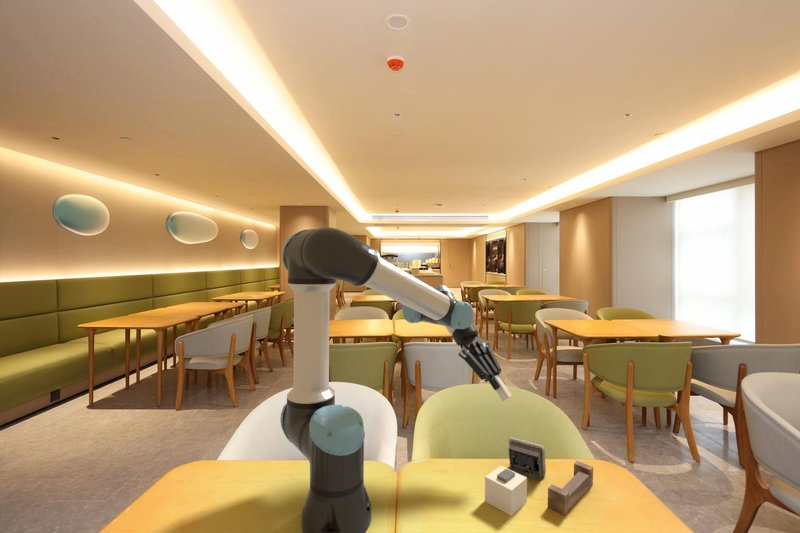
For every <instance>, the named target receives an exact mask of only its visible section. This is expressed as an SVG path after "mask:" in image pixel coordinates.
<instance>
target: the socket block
mask: <svg viewBox="0 0 800 533" xmlns="http://www.w3.org/2000/svg"><path fill="white" fill-rule="evenodd" d="M527 500H528V477H526V476H523V475H520V474H518V473H516V472H514V471H512V469H511V470H510V469H509V468H507V467H505V466H504V465H499V466H498V467H497V468H495V469H494V470H493V471H491V472H490V473H488V474H487V475H485V476H484V502H485V503H487V504H488V505H489V504H490V505H491V506H493V507H495V508H497V509H498V510H500V511H502V512H503V513H505V514H506V515H509V516H510V517H512V516H513V515H515V513H517V512H518V511H519V510H520V509H521V508H522V507H523V506H524V505H525V504H527V502H528V501H527Z"/></svg>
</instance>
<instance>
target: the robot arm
mask: <svg viewBox="0 0 800 533" xmlns="http://www.w3.org/2000/svg"><path fill="white" fill-rule="evenodd" d="M281 260H282V264H283V266H284V268H285V269H286V270H287V286H289V287H290V289H292V290H293V383H292V384H293V387H292V388H291V389H290V390H289V392H288V393H287V395H286V404H285V405H283V407H282V410H281V411H280V412H281V413H280V426H281V430H282V431H283V434H284V436H285V438H287V440H288V441H289V442H290V443H292V444H293V445H294V447H295V448H296V449H298V451H299V452H300V453H301V454H302V455H303V456H305V458H306V459H307V460H308V461H309V490H308V494H307V496H306V500H305V504H304V507H302V508H303V509H302V511H301V530H302V533H366V532H367V531H368V529H369V528H370V525H371V523H372V505H371V501H370V498H369V495H368V492H367V489H366V486H365V483H364V480H365V476H364V475H365V474H364V470H365V467H364V466H365V464H364V461H365V458H364V457H365V437H366V436H365V435H366V433H365V426H364V419H363V417H362V415H361V414H360V413H359V412H358V411H357V410H356V409H354V408H352V407H350V406H343V405H341V404H335V403H336V400H335V398H336V397H335V395H336V393H335V390H334V389H333V387H331V385H330V384H329V382H330V381H329V380H330V378H329V377H330V308H331V307H330V300H331V299H330V298H331V296H330V294H331V290H332V289H333V288H334V287H335V286H336V285H337V281H342V282H346V283H348V284H350V285H352V286H355V287H363V286H365V287H367V288H369V289H371V290H374V292H378V293H379V294H382V295H383V296H385V297H388V298H390V299H391V300H393V301H396V302H398V303H399V304H401V306H402V307H401V309H402V311H401V312H402V316H403V319H404V320H405V321H406V322H408V323H409V324H418V323H421V322H424V323H428V324H433V325H439V326H443V327H445V328H446V330H447V332H448V333H449V334H450V335H451V338H452V340H454V343H455V344H456V345H457V346H459V347H460V349H461V351H460V352H459V353H458V356H459V357H460V359H463V360H464V362H466V364H467V365H468V366H469V367H470V368H471V370H472V371H473V372H474V373H475V374H476V375H477V376H478V378H479V379H480V380H482V381H484V382H485V383H487V382H489V384H490V385H491V387H492V389H493V390H494V391H495V392H496V394H497V395H498V397H499V398H500V400H501V401H502V402H504V401H507V400H508V399H509V398H511V397H512V393H511V392H510V390H509V389H508V388H507V386H506V384H505V381H503V379H502V377H501V375H500V374H501V372H502V369H501V366H500V364H499V362H498V360H497V358H496V356H495V354H494V352H493V350H492V347H491V343H490V342H486V343H485V342H483V340H482V339H480V337H479V335H478V334H479V330H477V328H476V327H475V325H474V323H473V320H474V316H475V314H474V313H475V312H474V309H473V306H472V305H471V304H470V303H469V302H467V301H462V300H457V299H456V297H455V296H454V294H453V293H452V291H450V289H449V288H448V287H447V285H444V284H440V285H437V286H435V287H433V286H431V285H429V284H427V283H425V282H424V281H422V280H421V279H419V278H417V277H416V276H414V275H412V274H410V273H409V272H406V271H405V270H403V269H401V268H400V267H398V266H397V265H394V264H392V263H391V262H389V261H387V260H385V259H384V258H382V257H381V256H380V253H379V251H378V250H377V249H376V248H374V247H373V246H371V245H369V244H367V243H365V242H364V241H362V240H360V239H359V238H357V237H355V236H353V235H351V234H349V233H348V232H346V231H344V230H342V229H338V228H336V227H329V226H328V227H327V226H325V227H319V228H310V229H302V230H300V231H298V232H295V233H293V234H291V235H290V236H289V237H288V238H287V239H286V241H285V242H284V244H283V247H282V249H281Z"/></svg>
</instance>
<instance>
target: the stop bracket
mask: <svg viewBox="0 0 800 533" xmlns="http://www.w3.org/2000/svg"><path fill="white" fill-rule="evenodd" d="M593 485H594V467H593V466H591V465H589V464H587V463H585V462H583V461H582V462H581V461H579V460H576V461H575V462H574V463H573V477H571V478H570V479H569V480H568V481H567V483H566V484H565V485H564V486H562V487H558V486H557V485H554V484H550V486H548V487H547V507H548V508H549V509H550V510H552V511H555V512H557V513H559V514H561V515H563V516H566V515H567V514H568V513H569V512H570V511H571V509H573V507H574V506H575V505H576V504H577V503H578V502H579V501H580V499H581V498H582V497H583V496H584V495H585V494H586V493H587V492H588V491H589V489H590V488H591V487H592V486H593Z"/></svg>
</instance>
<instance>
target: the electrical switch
mask: <svg viewBox="0 0 800 533" xmlns="http://www.w3.org/2000/svg"><path fill="white" fill-rule="evenodd" d="M507 443H508V445H509V446H508V458H509V459H508V460H509V468H510V470H512V471H514V472H516V473H518V474H520V475H522V476H524V477H527V478H530V479H531V480H536V481H538V482H540V481H541V478H542V476H543V477H545V476H546V473H547V470H546V469H547V468H546V465H547V464H546V451H545V449H546V448H545V447H544V445H543V444H540V443H535V442H531V441H528V440H524V439H522V438H521V439H520V438H517V437H513V436H509V438H508V442H507ZM526 471H527V472H526Z"/></svg>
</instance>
